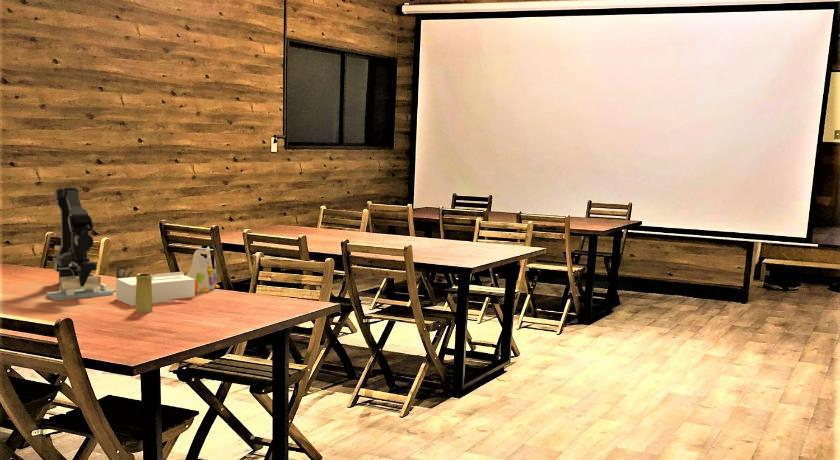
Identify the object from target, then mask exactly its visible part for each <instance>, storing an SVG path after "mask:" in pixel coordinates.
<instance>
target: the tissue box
mask: <svg viewBox="0 0 840 460" xmlns="http://www.w3.org/2000/svg"><path fill="white" fill-rule="evenodd" d="M151 275H152V277H151V279H152V304H159V303H158V302H162V303H167V302H166V301H172V302H175V301H174V300H179V299H187V298H195V295H196V294H195V293H196V292H195V279H193V278H190V277H187V276H186V275H184V272H183V271H177V272H175V271H174V272H167V273H158V274H151ZM115 282H116V283H115V285H116V286H115V288H116V289H115V290H116V291H115V299H116V300H117V301H119V302H121V303H124V304H126V305H129V306H136V276H131V277H130V276H129V277H128V278H118V279H115Z"/></svg>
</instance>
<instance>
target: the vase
mask: <svg viewBox="0 0 840 460" xmlns="http://www.w3.org/2000/svg"><path fill="white" fill-rule="evenodd" d="M152 275H153V274H151V273H144V272H143V273H138V274H136V276H135V277H136V305H134V308H135V313H138V312H142V313H141V314H145V313H144V312H148V313H152V312H153V303H152V279H151V277H152ZM151 311H152V312H151Z"/></svg>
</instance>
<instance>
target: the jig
mask: <svg viewBox="0 0 840 460" xmlns="http://www.w3.org/2000/svg"><path fill="white" fill-rule="evenodd" d="M45 295H46V296H45V297H46V298H49V299H52V300H53V301H63V300H65V301H66V300H73V299H74V300H75V299H85V298H94V297H104V296H105V297H106V296H113V295H114V290H112V289H109V288H108V284H105V283H102V282H101V286H97V287H93V288H87V289H78V290H74V289H67V290H66V291H63V290H61V289H60V288H59V290H58V291H57V290H56V291H45Z"/></svg>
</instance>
